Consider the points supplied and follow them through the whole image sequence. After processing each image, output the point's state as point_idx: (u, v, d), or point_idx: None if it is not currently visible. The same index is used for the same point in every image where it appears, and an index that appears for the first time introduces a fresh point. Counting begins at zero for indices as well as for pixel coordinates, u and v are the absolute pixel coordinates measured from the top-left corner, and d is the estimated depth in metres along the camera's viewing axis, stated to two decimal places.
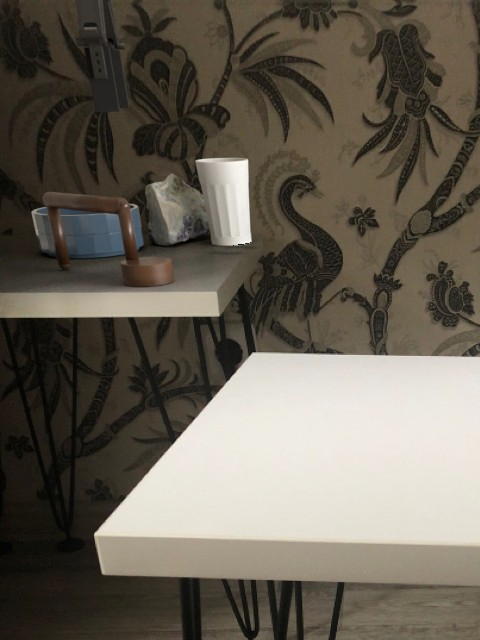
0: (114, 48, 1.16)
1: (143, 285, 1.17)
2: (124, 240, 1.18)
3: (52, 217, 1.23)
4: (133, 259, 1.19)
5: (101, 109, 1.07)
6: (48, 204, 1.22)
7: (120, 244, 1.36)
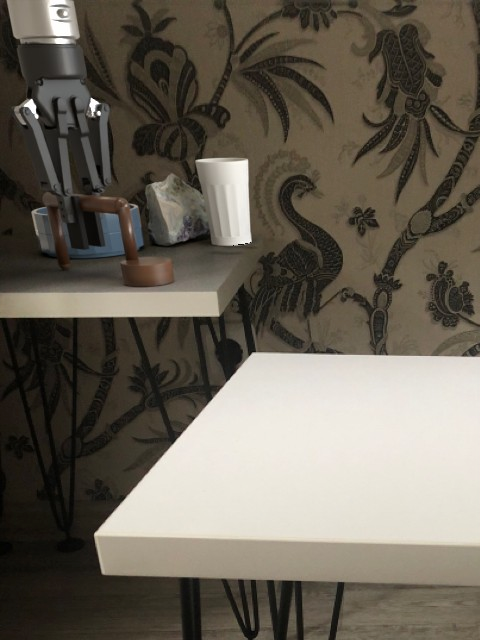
0: (91, 189, 1.20)
1: (143, 285, 1.17)
2: (124, 240, 1.18)
3: (52, 217, 1.23)
4: (133, 259, 1.19)
5: (74, 246, 1.22)
6: (48, 204, 1.22)
7: (120, 244, 1.36)
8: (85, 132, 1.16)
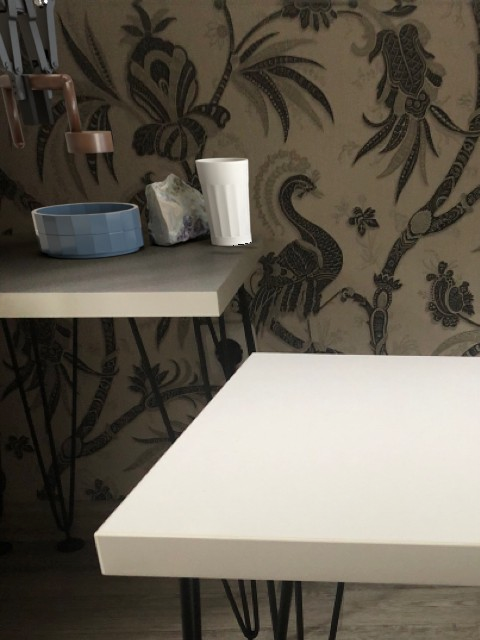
0: (40, 70, 1.36)
1: (85, 152, 1.32)
2: (68, 113, 1.33)
3: (7, 98, 1.39)
4: (77, 131, 1.34)
5: (26, 123, 1.37)
6: (3, 85, 1.38)
7: (120, 244, 1.36)
8: (33, 16, 1.32)
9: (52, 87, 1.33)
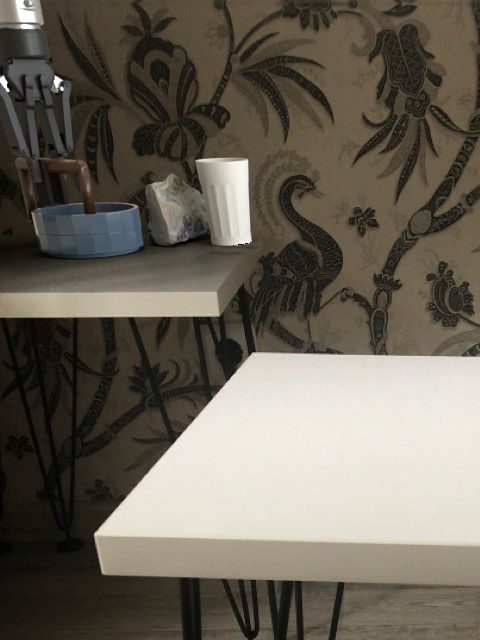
0: (56, 154, 1.41)
1: None
2: (83, 196, 1.39)
3: (23, 179, 1.44)
4: (91, 213, 1.40)
5: (42, 203, 1.43)
6: (20, 167, 1.43)
7: (120, 244, 1.36)
8: (50, 104, 1.37)
9: (68, 172, 1.38)
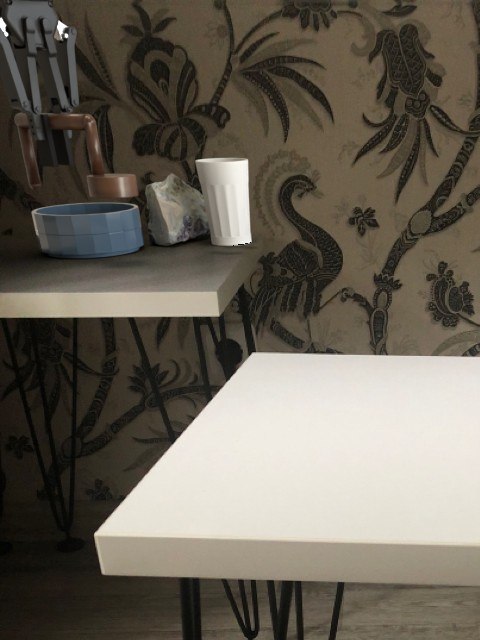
0: (59, 109, 1.27)
1: (108, 197, 1.23)
2: (90, 155, 1.24)
3: (23, 137, 1.30)
4: (99, 174, 1.26)
5: (44, 164, 1.29)
6: (19, 124, 1.29)
7: (120, 244, 1.36)
8: (53, 52, 1.23)
9: (73, 127, 1.24)
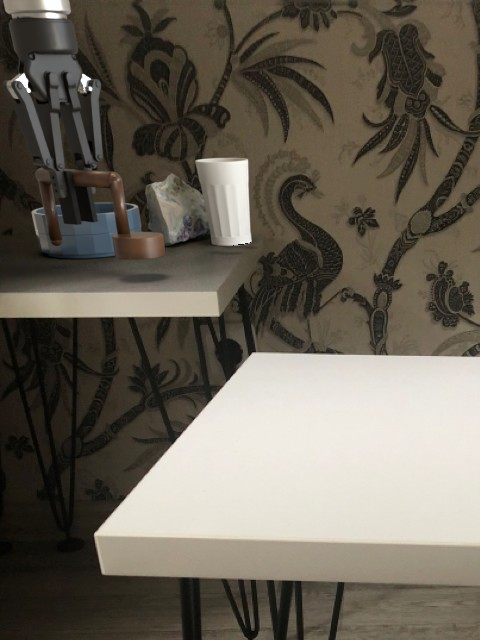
0: (83, 164, 1.21)
1: (134, 258, 1.18)
2: (116, 214, 1.19)
3: (45, 193, 1.24)
4: (125, 233, 1.20)
5: (67, 221, 1.23)
6: (41, 179, 1.23)
7: None
8: (77, 107, 1.18)
9: (98, 185, 1.18)
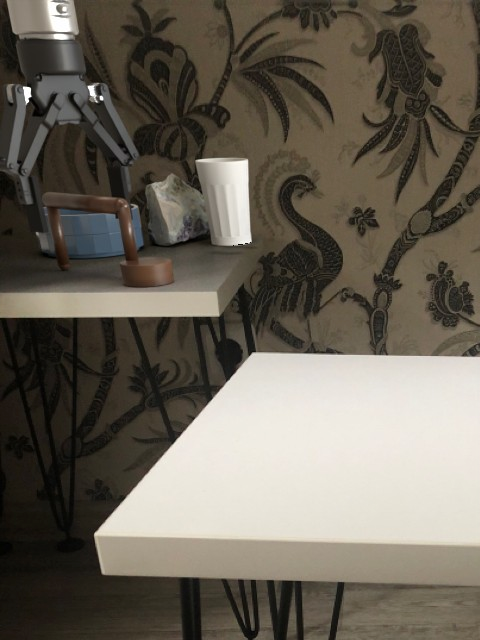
0: (121, 165, 1.23)
1: (143, 285, 1.17)
2: (124, 240, 1.17)
3: (52, 217, 1.23)
4: (133, 259, 1.19)
5: (33, 229, 1.17)
6: (48, 204, 1.22)
7: (120, 244, 1.36)
8: (94, 120, 1.17)
9: (105, 211, 1.17)
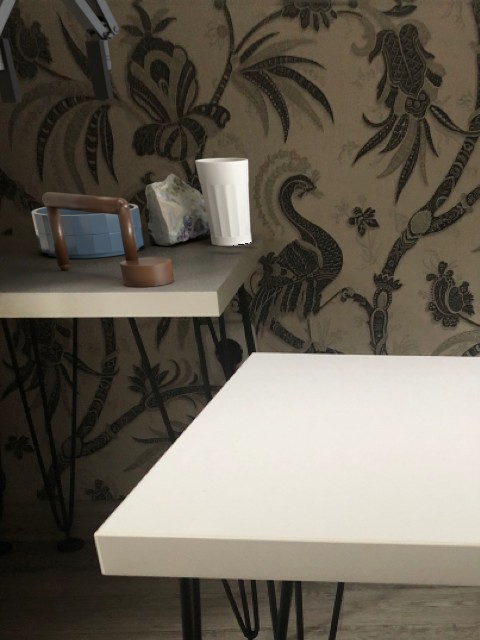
0: (100, 39, 1.16)
1: (143, 285, 1.17)
2: (124, 240, 1.17)
3: (52, 217, 1.23)
4: (133, 259, 1.19)
5: (5, 100, 1.09)
6: (48, 204, 1.22)
7: (120, 244, 1.36)
8: None
9: (105, 211, 1.17)
